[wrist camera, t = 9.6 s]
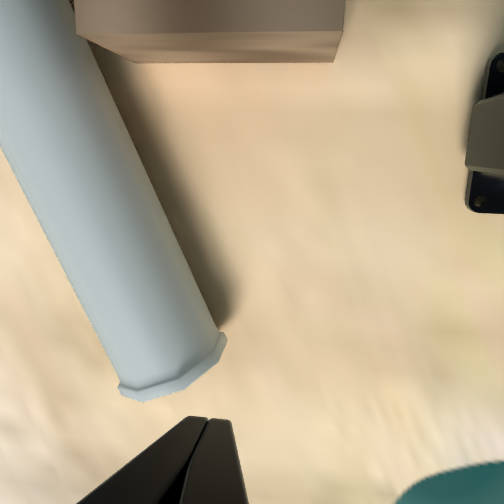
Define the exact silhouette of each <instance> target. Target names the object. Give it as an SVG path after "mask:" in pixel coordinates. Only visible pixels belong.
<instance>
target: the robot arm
mask: <svg viewBox="0 0 504 504" xmlns="http://www.w3.org/2000/svg"><path fill="white" fill-rule="evenodd" d="M499 61H503V62H504V53H500V54H498V55H496V56H494V57H492V58H491V59H490V60H489V61H488V63H487V66H486V70H485V76H484V83H483V89H482V96H481V100H480V101H479V102H478V103H477V104H476V105H474V107H473V113H472V119H471V126H470V132H469V139H468V145H467V152H466V159H465V166H466V167H467V168H468V169H469V170H470V172H469V179H468V185H467V191H466V198H465V205H466V206H467V208H468V209H469V210H471V211H473V212H477V213H492V214H504V71H503V72H499V71H498V70H497V66H496V65H497V63H498V62H499ZM478 196H482V198H483V202H482V204H481V205H479V206H476V205H475V203H474V201H475V199H476V198H477V197H478ZM76 504H249V502H248V497H247V493H246V488H245V484H244V479H243V474H242V470H241V465H240V460H239V456H238V451H237V446H236V442H235V437H234V432H233V428H232V423H231V421H230V420H225V419H216V418H212V419H210V420H208V419H207V418H206V417H197V416H188V417H186V418H184V419H183V420H182V421H181V422H179V423H178V424H177V425H175V426H174V427H173V428H172V429H170V430H169V431H168V432H167V433H165V434H164V435H163V436H162V437H160V438H159V439H158V440H156V441H155V442H154V443H153V444H151V445H150V446H149V447H148V448H146V449H145V450H144V451H142V452H141V453H140V454H139V455H137V456H136V457H135V458H134V459H132V460H131V461H130V462H129V463H127V464H126V465H125V466H123V467H122V468H121V469H120V470H118V471H117V472H116V473H115V474H113V475H112V476H111V477H109V478H108V479H107V480H106V481H104V482H103V483H102V484H101V485H99V486H98V487H97V488H95V489H94V490H93V491H92V492H90V493H89V494H88V495H87V496H85V497H84V498H83V499H82V500H80V501H79V502H78V503H76Z"/></svg>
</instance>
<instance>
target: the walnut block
mask: <svg viewBox="0 0 504 504" xmlns="http://www.w3.org/2000/svg"><path fill="white" fill-rule="evenodd" d="M74 9H75V21H76V33H77V35H79V36H81V37H83V38H85V39H88V40H90V41H92V42H94V43H96V44H98V45H100V46H102V47H104V48H106V49H108V50H110V51H112V52H114V53H116V54H118V55H120V56H122V57H124V58H126V59H128V60H130V61H132V62H135V63H311V62H333V61H334V58H335V55H336V51H337V48H338V45H339V42H340V39H341V36H342V33H343V25H344V11H345V0H74Z"/></svg>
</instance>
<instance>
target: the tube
mask: <svg viewBox="0 0 504 504" xmlns="http://www.w3.org/2000/svg"><path fill="white" fill-rule="evenodd" d="M0 147H1V149H2V151H3V153H4V155H5V157H6V159H7V161H8V163H9V165H10V167H11V168H12V170H13V172H14V174H15V176H16V178H17V180H18V182H19V184H20V186H21V188H22V190H23V192H24V194H25V196H26V198H27V200H28V202H29V204H30V206H31V207H32V209H33V211H34V213H35V215H36V217H37V219H38V221H39V223H40V225H41V227H42V229H43V231H44V233H45V235H46V237H47V239H48V241H49V243H50V244H51V246H52V248H53V250H54V252H55V254H56V256H57V258H58V260H59V262H60V264H61V266H62V268H63V270H64V272H65V274H66V276H67V278H68V280H69V281H70V283H71V285H72V287H73V289H74V291H75V293H76V295H77V297H78V299H79V301H80V303H81V305H82V307H83V309H84V311H85V313H86V315H87V317H88V319H89V320H90V322H91V324H92V326H93V328H94V330H95V332H96V334H97V336H98V338H99V340H100V342H101V344H102V346H103V348H104V350H105V352H106V354H107V356H108V357H109V359H110V361H111V363H112V365H113V367H114V369H115V371H116V373H117V375H118V378H119V380H120V383H119V385H118V389H119V391H120V393H121V395H122V396H125V397H128V398H131V399H134V400H137V401H140V402H146V401H149V400H152V399H156V398H159V397H162V396H166V395H169V394H172V393H175V392H179V391H182V390H185V389H186V388H187V387H188V386H189V385H191V384H192V383H193V382H194V381H196V380H197V379H198V378H199V377H201V376H202V375H203V374H204V373H206V372H207V371H208V370H209V369H211V368H212V367H213V366H214V365H215V364H217V363H218V362H219V359H220V357H221V355H222V352H223V350H224V348H225V345H226V343H227V338H226V336H225V333H224V332H220V331H218V329H217V327H216V325H215V323H214V321H213V319H212V317H211V314H210V312H209V310H208V308H207V306H206V303H205V301H204V299H203V297H202V294H201V292H200V290H199V288H198V286H197V283H196V281H195V279H194V277H193V275H192V272H191V270H190V268H189V266H188V263H187V261H186V259H185V257H184V255H183V252H182V250H181V248H180V246H179V244H178V241H177V239H176V237H175V235H174V232H173V230H172V228H171V226H170V224H169V221H168V219H167V217H166V215H165V213H164V210H163V208H162V206H161V204H160V201H159V199H158V197H157V195H156V193H155V190H154V188H153V186H152V184H151V182H150V179H149V177H148V175H147V173H146V170H145V168H144V166H143V164H142V162H141V159H140V157H139V155H138V153H137V151H136V148H135V146H134V144H133V142H132V139H131V137H130V135H129V133H128V131H127V128H126V126H125V124H124V122H123V120H122V117H121V115H120V113H119V111H118V108H117V106H116V104H115V102H114V100H113V97H112V95H111V93H110V91H109V89H108V86H107V84H106V82H105V80H104V77H103V75H102V73H101V71H100V69H99V66H98V64H97V62H96V60H95V58H94V55H93V53H92V51H91V49H90V46H89V44H88V42H87V40H86V39H85V38H83V37H81V36H79V35H77V33H76V21H75V13H74V11H73V9H72V7H71V4H70V2H69V0H0Z"/></svg>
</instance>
